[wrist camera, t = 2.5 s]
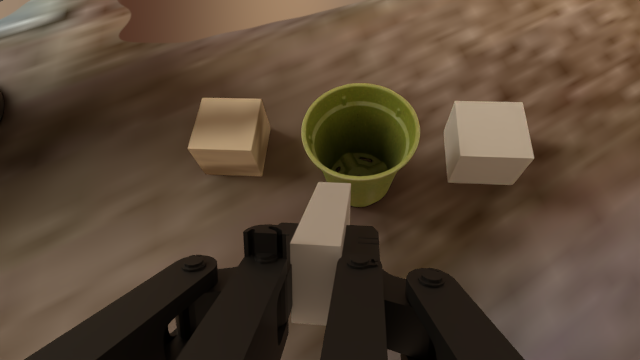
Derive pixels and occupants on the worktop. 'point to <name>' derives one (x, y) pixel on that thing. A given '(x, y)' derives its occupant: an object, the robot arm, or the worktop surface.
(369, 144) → the plant pot
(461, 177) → the grey block
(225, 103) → the birch block
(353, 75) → the worktop surface
